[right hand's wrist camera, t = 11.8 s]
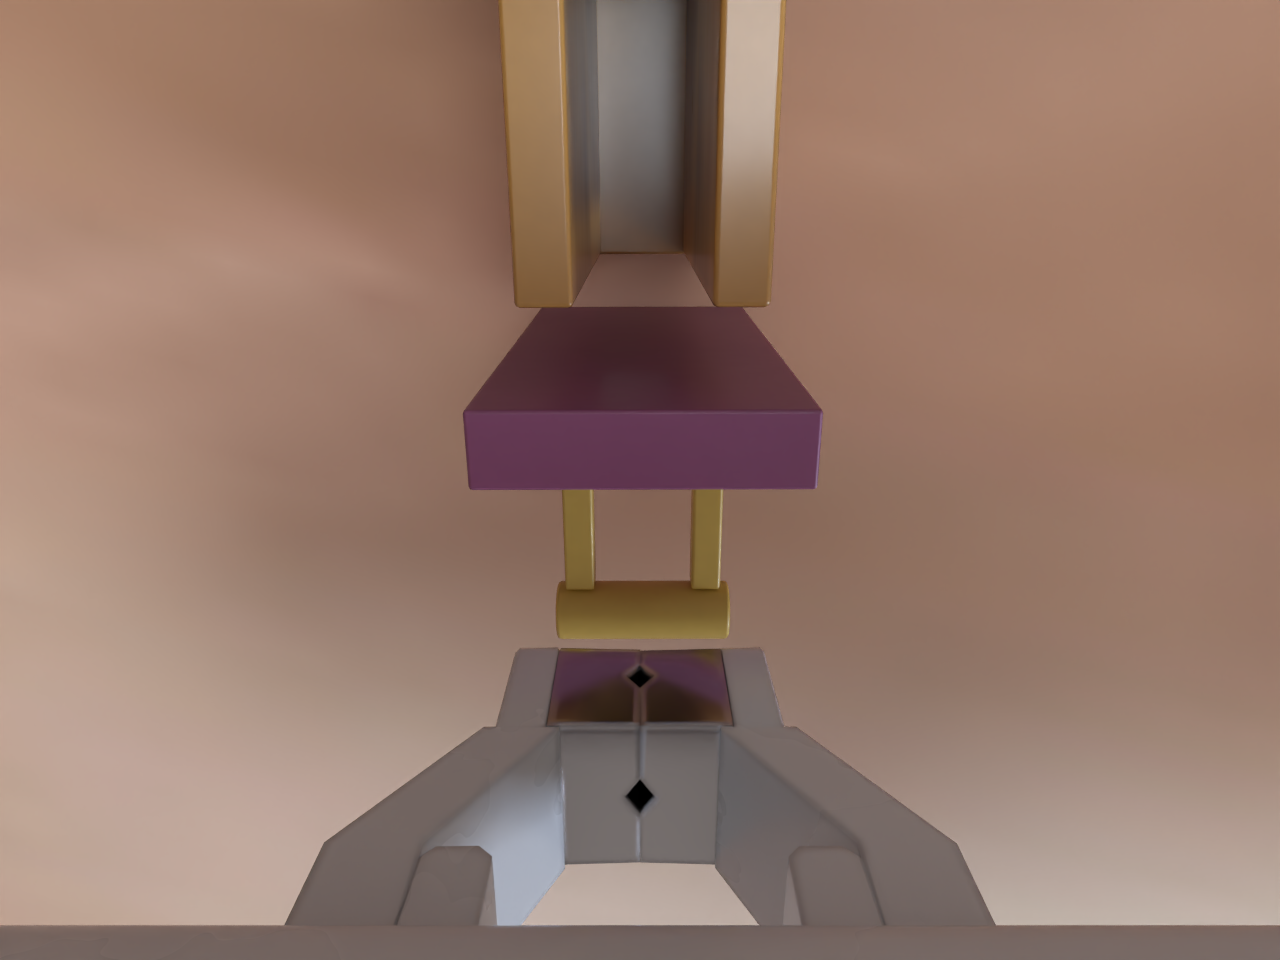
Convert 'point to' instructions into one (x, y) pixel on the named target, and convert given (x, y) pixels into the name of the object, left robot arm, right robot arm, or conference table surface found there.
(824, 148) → the conference table surface
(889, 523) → the conference table surface
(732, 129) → the drawer
